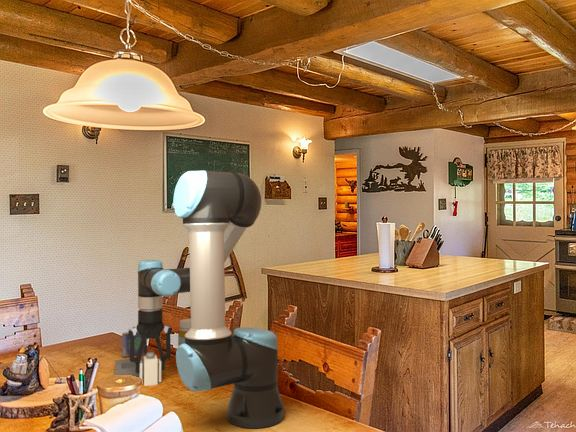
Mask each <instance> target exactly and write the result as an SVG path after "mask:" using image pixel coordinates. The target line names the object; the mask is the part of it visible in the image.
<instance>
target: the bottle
mask: <svg viewBox="0 0 576 432" xmlns="http://www.w3.org/2000/svg"><path fill="white" fill-rule="evenodd" d="M190 328H191V318H183V319H180V320H179V331H178V335H177V336H178V340H177V344H178V345H177V346H178V347H179V346H180V345H181V344H185V334H186V333H187V332H188V331H189V330H190ZM178 347H177V348H178Z"/></svg>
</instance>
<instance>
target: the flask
mask: <svg viewBox="0 0 576 432" xmlns="http://www.w3.org/2000/svg"><path fill="white" fill-rule="evenodd" d="M134 328H136V326H132V327H131V329H134ZM141 337H142V336H141V335H140V333H139V332H138V331H137V332H136V335H135V336H134V357H136V356H137V352H138V349H139V345H140V341H141ZM147 341H148V339H146V342H145V345H144V349H143V352H142V356H145V355H146V353H148V349H147V348H148V347H147V345H148V344H147ZM144 354H145V355H144ZM121 356H122V359H123V358H124V359H125V358H130V336H129V333H128V331H127V332H123V333H122V334H121Z"/></svg>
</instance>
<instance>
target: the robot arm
mask: <svg viewBox="0 0 576 432" xmlns="http://www.w3.org/2000/svg"><path fill="white" fill-rule="evenodd" d="M172 202H173V209H174V213H175V215H176V216H177V217H178V218H180V219H182V226H183V227H184V228H185V229H186V230H187V231H188V233H189V235H188V236H189V239H188V240H189V241H188V242H189V243H188V244H189V247H188V248H189V250H188V251H189V267H183V268H166V269H164V266H163V262H162V260H160V259H146V260H145V259H143V260H140V261H139V262H138V266H137V292H138V293H137V308H138V311H137V313H138V314H137V324H136V326H135V328H134V329H133V328H128V330H127V332H128V333H129V336H130V357H129V359H130V362H135V363H136V373H139V378H141V379H142V361H140V360H141V358H142V357H143V355H142V352H143V349H144V345H145V342H146V339H147V340H149V339H153V340H154V339H155V344H156V347H157V350H158V353H159V357H160V358H159V359H158V358H157V359H158V383H162V371H165V369H166V368H165V367H166V360H168V359H171V357H172V355H171V354H172V353H171V349H172V348H171V346H172V345H171V334H172V331H173V328H172V326H171V325H168V326H167V325H165V324H164V321H163V319H164V317H163V316H164V315H163V311H164V310H163V309H162V308H163V306H164V305H163V297H173V296H174V295H176V294H182V293H189V294H190V296H189V297H190V298H189V299H190V301H189V303H190V319H191V328H190V330H189V331H188V332H187V333H186V334H185V344H181V345H180V346H179V347H177V348H176V353H175V363H176V367H177V368H176V369H177V372H178V375H179V377H180V380H181V382H182V383H183V384H184V385H183V386H185V387H186V388H187V389H188V390H189V391H191V392H203V391H210V390H213V389H217V388H222V387H225V386H229V385H233V389H232V392H231V395H230V398H229V401H228V404H227V408H226V420H227V421H228V422H229V423H230V424H232V425H234V426H236V427H239V428H246V429H263V428H268V427H272V426H275V425H277V424H279V423H280V422H281V421H283V419H284V417H285V415H284V414H285V408H284V404H283V401H282V398H281V395H280V391H279V388H278V361H279V360H278V357H279V356H278V353H279V352H278V351H279V345H278V336H277V334H276V333H275V332H273V331H271V330H268V329H263V328H259V327H236V328H235V329H234V330H233V332H232V331H231V330H230V329H229V328H228V327H227V325H226V289H225V288H226V286H225V283H226V282H225V281H226V280H225V277H226V276H225V263H226V261H227V259H228V258H229V256H230V255H231V253H232V252H233V250H234V249H235V247H236V246H237V244H238V242H239V241H240V239H241V237H242V236H243V235H244V233H245V231H246V229H247V228H250V227H252V226H253V225H254V224H255V222H256V220H257V219H258V217H259V214H260V212H261V210H262V195H261V191H260V189H259V186H258V185H257V184H256V182H255V181H254V180H253V179H252V178H251V177H250V176H248V175H245V174H244V173H241V172H227V171H226V172H225V171H211V170H188V171H186V172H185V173H183V174H182V175H181V176H180V177H179V179H178V181H177V183H176V185H175V188H174V193H173V201H172ZM137 331H138V332H139V333H140V335H141V336H142V337H141V341H140V345H139V349H138V352H137V356H134V336H135V335H136V332H137ZM162 331H164V333H165V354H164V351H163V346H162V343H161V339H160V334H161V333H162ZM142 380H143V379H142Z"/></svg>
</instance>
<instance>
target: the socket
mask: <svg viewBox="0 0 576 432" xmlns="http://www.w3.org/2000/svg"><path fill="white" fill-rule="evenodd" d="M140 361H142V380H143V357H141V360H140ZM114 372H115V373H114V375H132V376H136V377H139V373H136V363H135V362H130V358H127V359H125V358H124V359H116V360H115V361H114Z"/></svg>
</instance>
